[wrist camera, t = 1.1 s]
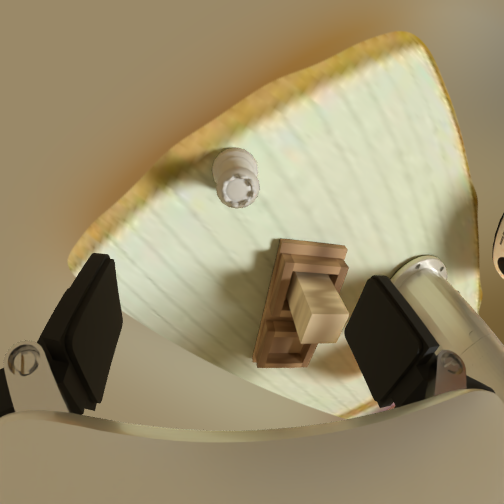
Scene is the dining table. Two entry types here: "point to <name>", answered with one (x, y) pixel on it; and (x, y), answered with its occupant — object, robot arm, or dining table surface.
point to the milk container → (499, 248)
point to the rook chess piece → (236, 177)
